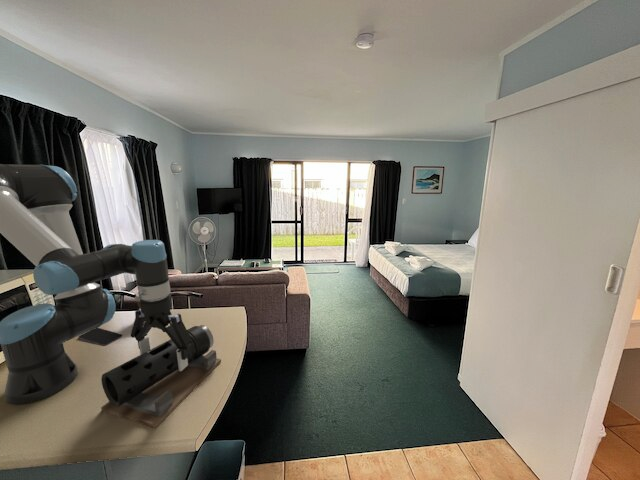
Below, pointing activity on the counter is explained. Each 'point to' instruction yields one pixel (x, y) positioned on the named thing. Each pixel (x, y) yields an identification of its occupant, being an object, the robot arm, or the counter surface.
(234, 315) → the counter surface
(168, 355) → the muzzle brake
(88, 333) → the smartphone
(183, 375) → the mounting board
